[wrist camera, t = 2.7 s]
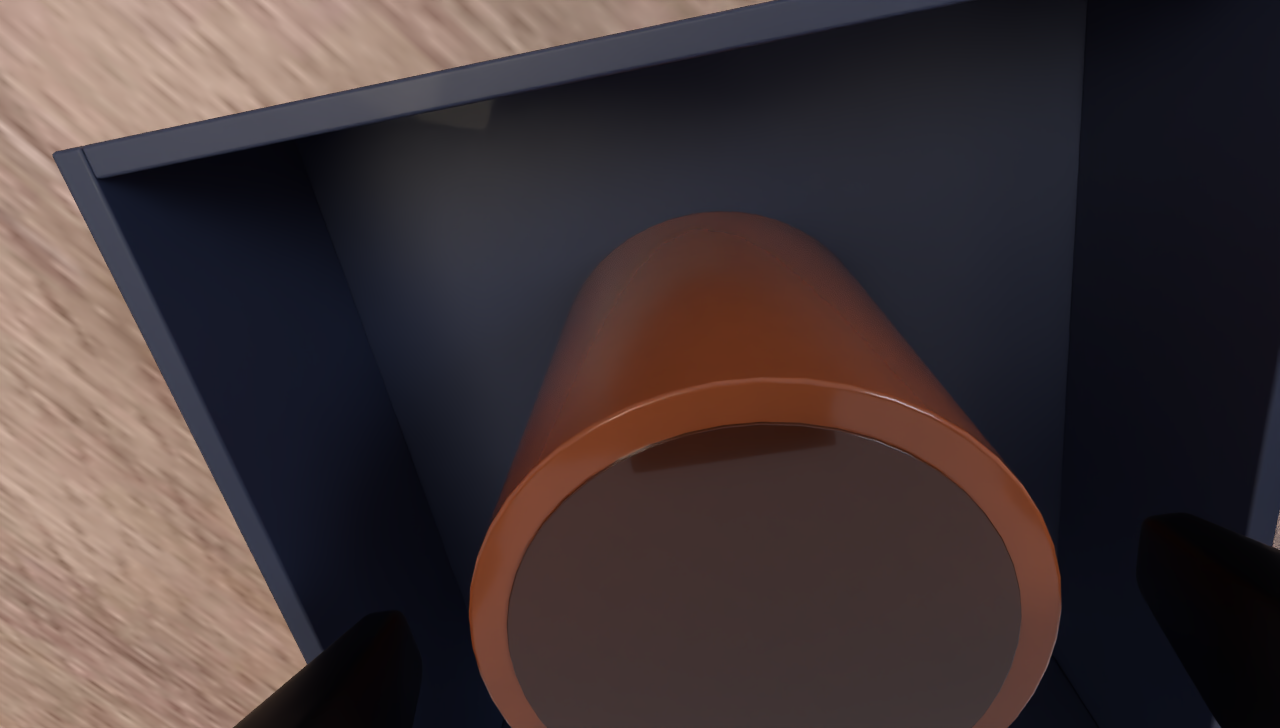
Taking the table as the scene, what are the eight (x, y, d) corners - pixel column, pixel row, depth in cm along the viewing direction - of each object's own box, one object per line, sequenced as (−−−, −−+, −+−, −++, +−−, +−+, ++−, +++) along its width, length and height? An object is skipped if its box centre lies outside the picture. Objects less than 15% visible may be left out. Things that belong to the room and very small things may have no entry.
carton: (1059, 649, 18) (1207, 876, 13) (497, 710, 20) (440, 932, 15) (1102, -59, 12) (1410, -134, 7) (276, 114, 13) (48, 152, 8)
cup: (865, 181, 13) (1084, 328, 6) (884, 477, 16) (1053, 813, 9) (526, 243, 14) (385, 436, 7) (596, 516, 16) (544, 855, 10)
